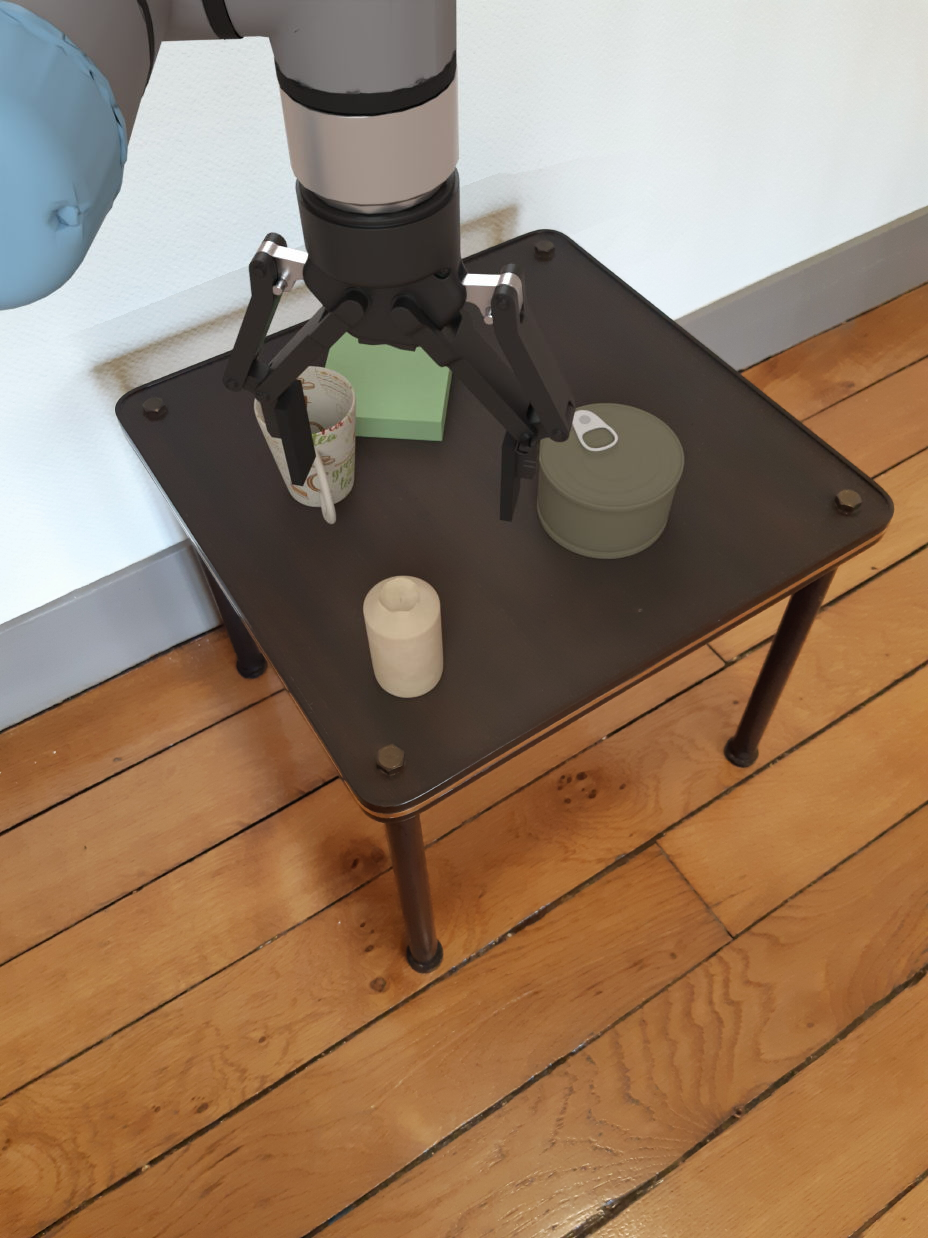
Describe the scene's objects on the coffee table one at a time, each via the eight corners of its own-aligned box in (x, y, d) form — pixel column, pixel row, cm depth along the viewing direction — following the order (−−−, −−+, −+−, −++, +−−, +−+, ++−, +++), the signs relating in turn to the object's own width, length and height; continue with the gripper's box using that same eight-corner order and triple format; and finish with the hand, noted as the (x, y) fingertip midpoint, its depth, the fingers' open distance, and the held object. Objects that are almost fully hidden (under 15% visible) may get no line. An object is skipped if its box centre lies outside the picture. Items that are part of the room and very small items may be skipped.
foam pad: (316, 433, 89) (312, 414, 87) (337, 349, 96) (334, 329, 94) (442, 441, 88) (441, 421, 86) (454, 356, 95) (454, 336, 93)
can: (575, 580, 79) (583, 527, 73) (511, 484, 85) (513, 428, 79) (696, 532, 82) (713, 477, 76) (625, 442, 88) (636, 386, 82)
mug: (353, 440, 88) (341, 356, 80) (390, 539, 82) (380, 458, 73) (266, 461, 87) (244, 378, 79) (296, 563, 80) (276, 484, 72)
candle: (452, 688, 73) (448, 615, 65) (383, 706, 72) (371, 635, 64) (433, 632, 76) (427, 555, 68) (366, 648, 75) (353, 573, 67)
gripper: (662, 155, 43) (608, 476, 60) (153, 97, 46) (242, 417, 64) (641, 253, 39) (590, 566, 56) (85, 181, 42) (200, 498, 60)
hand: (405, 487), depth 60 cm, fingers open, 13 cm apart
